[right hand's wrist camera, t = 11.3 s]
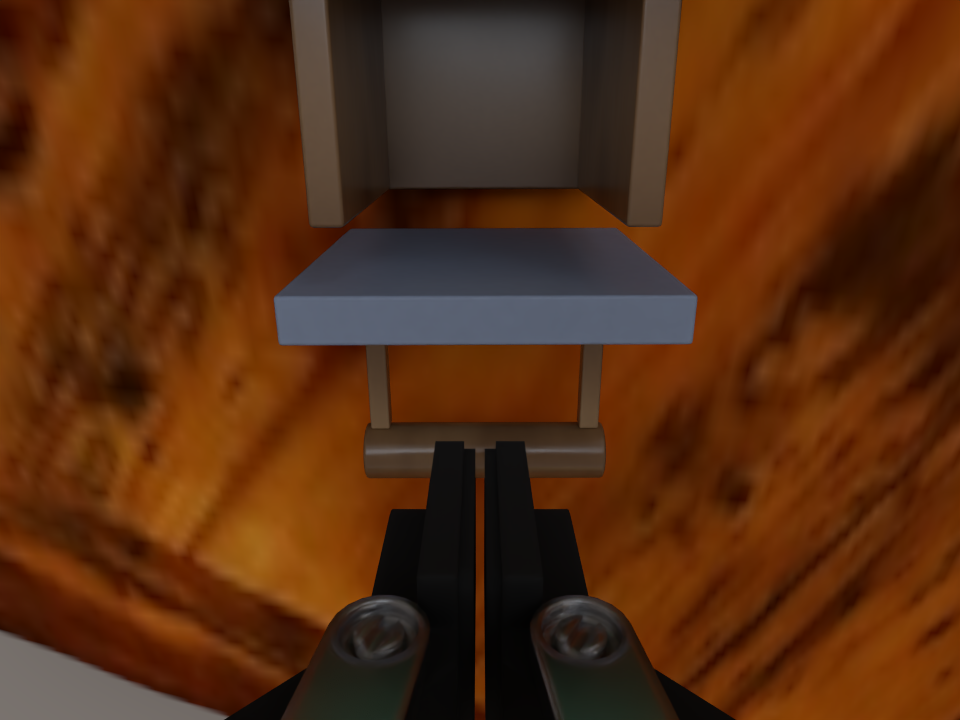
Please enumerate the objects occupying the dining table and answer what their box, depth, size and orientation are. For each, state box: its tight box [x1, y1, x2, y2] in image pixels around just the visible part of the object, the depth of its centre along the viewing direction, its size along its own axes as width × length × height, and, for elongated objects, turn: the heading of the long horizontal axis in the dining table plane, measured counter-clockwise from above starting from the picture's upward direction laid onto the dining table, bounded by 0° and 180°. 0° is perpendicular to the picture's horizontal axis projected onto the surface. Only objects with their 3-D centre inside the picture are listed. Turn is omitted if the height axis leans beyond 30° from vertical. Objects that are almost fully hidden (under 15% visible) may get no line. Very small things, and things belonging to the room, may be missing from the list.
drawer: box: [274, 0, 697, 478], centre depth 18 cm, size 21×10×10 cm, turn 0°
